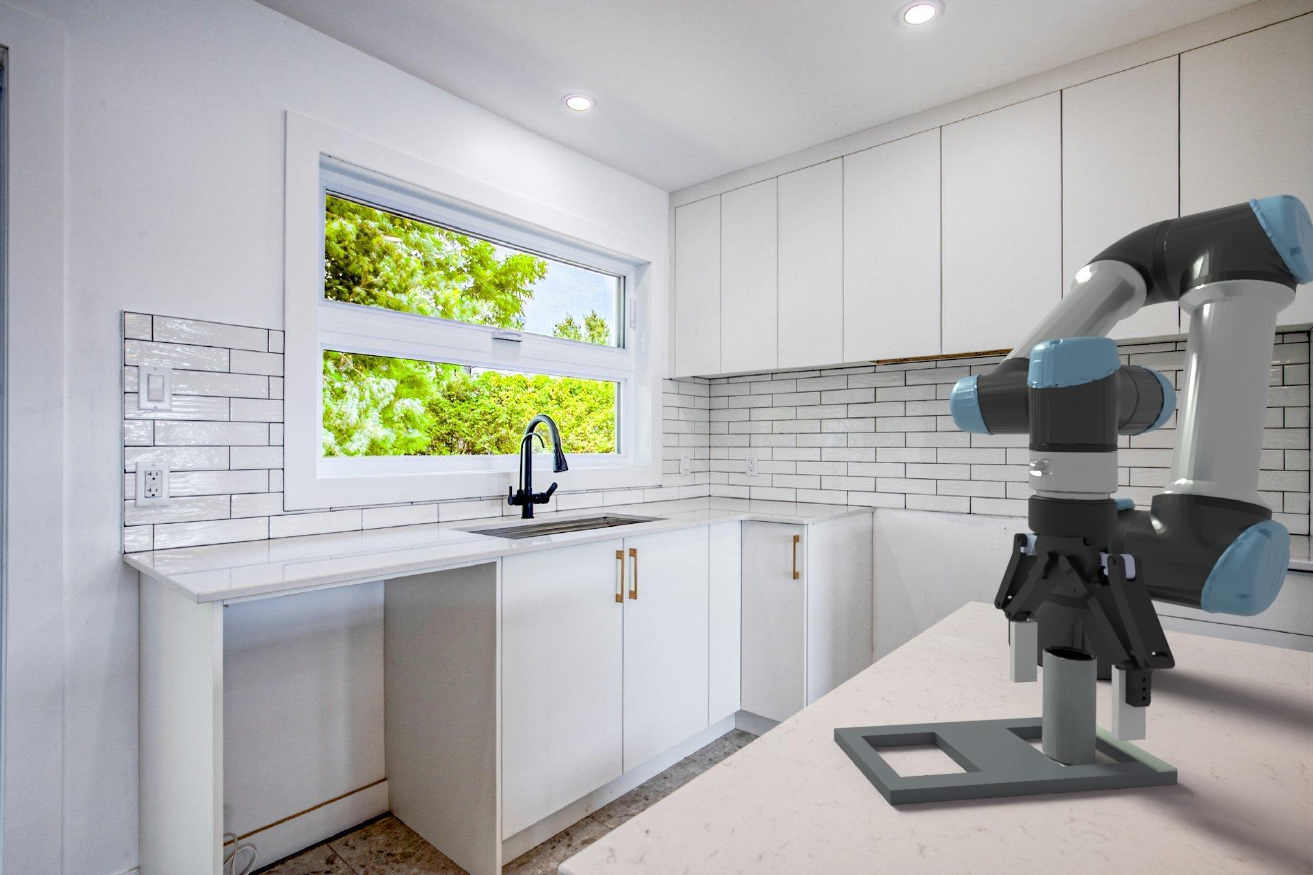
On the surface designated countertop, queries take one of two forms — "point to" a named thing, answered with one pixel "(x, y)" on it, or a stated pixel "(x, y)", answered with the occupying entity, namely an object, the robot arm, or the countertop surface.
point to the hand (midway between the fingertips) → (1070, 706)
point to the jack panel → (995, 761)
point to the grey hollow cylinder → (1069, 705)
